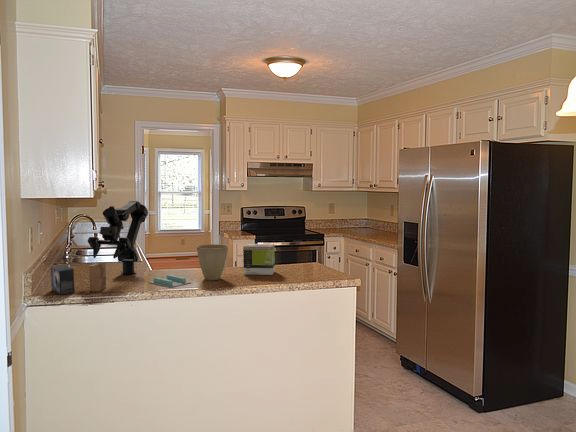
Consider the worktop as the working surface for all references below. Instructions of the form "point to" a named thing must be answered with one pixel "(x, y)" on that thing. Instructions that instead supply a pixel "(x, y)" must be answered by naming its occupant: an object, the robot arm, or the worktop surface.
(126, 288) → the worktop surface
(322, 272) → the worktop surface
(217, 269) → the plant pot
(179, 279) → the rack
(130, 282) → the worktop surface
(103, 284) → the brown upright block
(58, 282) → the small box
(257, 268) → the tea box
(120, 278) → the worktop surface
